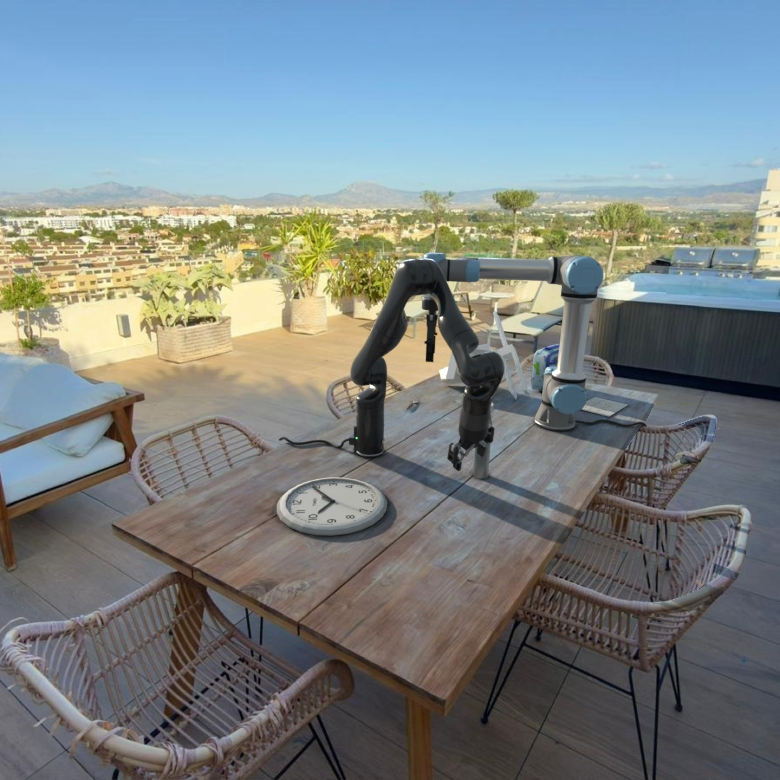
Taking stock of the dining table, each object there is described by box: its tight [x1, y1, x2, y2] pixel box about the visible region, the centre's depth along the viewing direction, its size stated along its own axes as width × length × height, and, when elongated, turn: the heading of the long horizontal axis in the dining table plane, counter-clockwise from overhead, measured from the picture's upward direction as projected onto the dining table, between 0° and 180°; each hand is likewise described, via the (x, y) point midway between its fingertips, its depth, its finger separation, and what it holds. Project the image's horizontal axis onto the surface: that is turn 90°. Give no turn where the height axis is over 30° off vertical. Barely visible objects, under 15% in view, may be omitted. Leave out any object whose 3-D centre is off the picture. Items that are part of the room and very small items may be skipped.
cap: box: [491, 402, 495, 414], centre depth 155 cm, size 4×4×2 cm
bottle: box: [472, 414, 493, 480], centre depth 158 cm, size 4×4×23 cm
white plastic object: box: [438, 310, 531, 400], centre depth 245 cm, size 37×45×31 cm
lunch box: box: [530, 343, 560, 392], centre depth 248 cm, size 26×11×21 cm, turn 134°
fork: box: [406, 394, 421, 411], centre depth 223 cm, size 3×16×2 cm, turn 160°
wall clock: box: [276, 476, 388, 537], centre depth 142 cm, size 30×2×30 cm
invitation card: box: [580, 396, 629, 418], centre depth 226 cm, size 21×1×15 cm
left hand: (468, 461), depth 143 cm, fingers open, 8 cm apart
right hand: (430, 357), depth 190 cm, fingers open, 13 cm apart
